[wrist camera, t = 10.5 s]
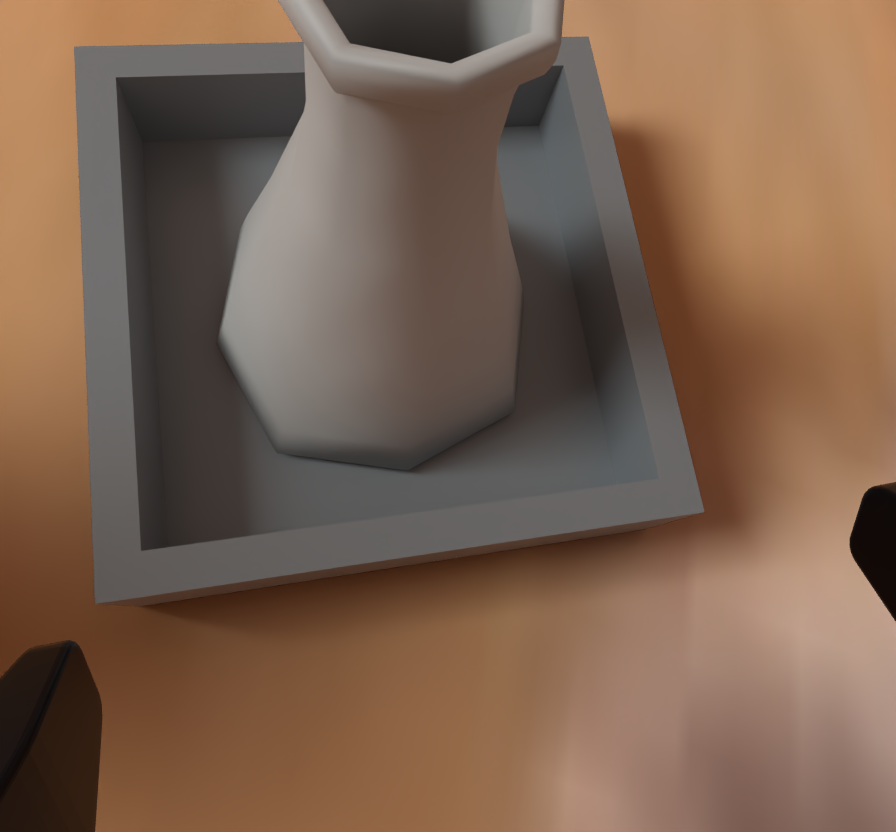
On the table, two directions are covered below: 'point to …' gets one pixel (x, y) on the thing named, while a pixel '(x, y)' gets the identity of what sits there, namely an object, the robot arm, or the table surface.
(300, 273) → the flask
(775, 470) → the table surface
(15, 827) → the robot arm
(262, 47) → the box
